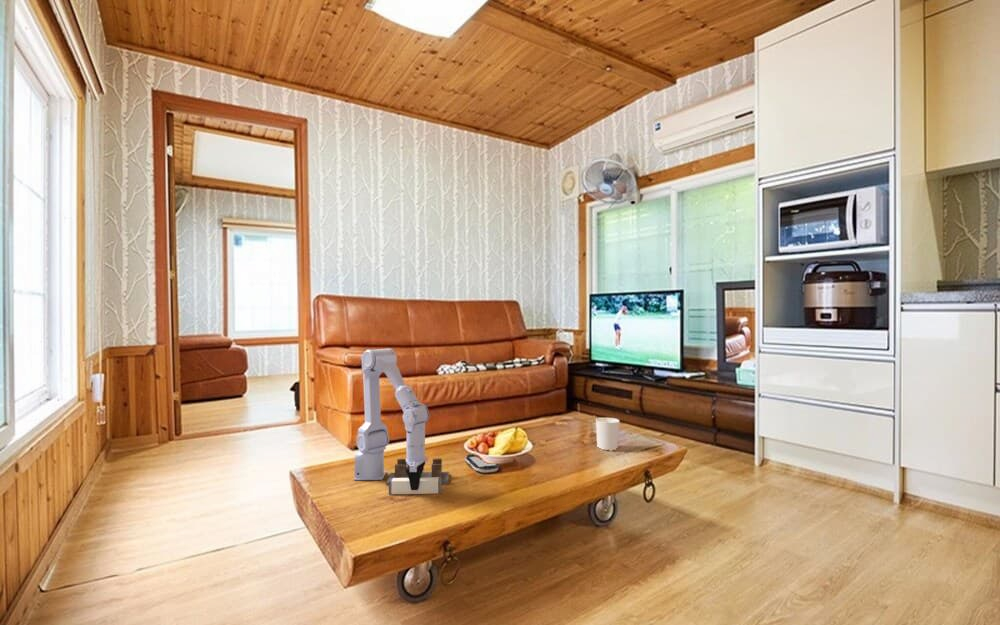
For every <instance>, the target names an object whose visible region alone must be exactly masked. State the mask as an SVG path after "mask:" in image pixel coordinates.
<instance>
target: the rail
mask: <svg viewBox="0 0 1000 625" xmlns="http://www.w3.org/2000/svg"><path fill="white" fill-rule="evenodd" d="M441 493H442V484H441V477H424V478H420V483H419V488H418V490H411V487H410V482H409V478H390V480H389V485H388V495H417V494H418V495H422V494H424V495H425V494H428V495H429V494H441Z"/></svg>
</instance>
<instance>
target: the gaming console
mask: <svg viewBox="0 0 1000 625" xmlns="http://www.w3.org/2000/svg"><path fill="white" fill-rule="evenodd" d="M471 454H472V453H471ZM471 454H467V455H465V457H464V458H465V459H464V460H465V462H466V463H467V464H468V465H469V466H470V467H471V468H472V469H473V470H474V471H475V472H476V473H479V474H482V475H489V474H494V473H498V472H499V471H500V467H499V464H498V463H497V464H487V463H484V462H483V461H482V460H480V459H479V458H477V457H475V456H474V455H471Z"/></svg>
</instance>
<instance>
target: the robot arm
mask: <svg viewBox="0 0 1000 625" xmlns="http://www.w3.org/2000/svg"><path fill="white" fill-rule="evenodd" d="M397 361H398V357H397V355H396V352H395V350H394V349H392V348H390V347H388V348H379V349H366V350H365V351H364V352H363V353H362V355H361V372H362V374H363V375H362V378H363V402H364V405H363V407H364V423H363V424H362V425H361V426H360V427H358V429H357V436H356V446H357V448H358V450H356V452H355V456H354V478H353V481H378V480H379V481H381V480H384V478H385V475H386V474H387V470H385V466H384V465H385V464H384V462H385V458H384V457H385V450H387V449H386V448H387V446H389V445H388V444H389V442H390V434H389V432H388V426H387V425H386V424H385V423H384V422H382V414H381V412H382V410H381V392H380V391H381V390H380V389H381V386H380V385H381V384H380V376H381V375H382V373H384V374H385V377H386V378H387V379H388V380H389V382H390V383H391V385H392V387H393V388H394V389H395V392H394V397H395V399H396V401H397V402H398V404H399V406H400V408H401V410H402V412H403V414H402V422H403V423H404V429H405V431H406V444H405V445H406V446H405V447H406V454H405V455H406V456H405V457H406V458H405V459H406V462H407V467H406V468H405V471H406V473H407V475H408V478H409V482H410V487H411V490H418V488H419V483H420V478H421V474H422V472H424V470H425V465H426V462H428V461H429V457H428V456H427V457H426V452H425V451H426V450H425V449H426V423H427V422H428V421H429V418H430V412H429V411H430V410H429V409H428V407H427V405H425V404H423V403H422V402H420V401H419V399H418V397H417V395H416V394H415V392H414V390H413V388H412V387H411V386H410V385H406V382H405V379H403V378H404V377H403V376H402V374H401V371H400V369H399V368H398V365H397Z"/></svg>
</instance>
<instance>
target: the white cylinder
mask: <svg viewBox="0 0 1000 625" xmlns="http://www.w3.org/2000/svg"><path fill="white" fill-rule="evenodd" d="M620 423H621V422H620V419H618V418H616V417H598V418H597V417H596V418H595V430H596V434H595V435H596V447H599V448H601V449H607V450H608V449H609V450H610V449H616V448H618V449H619V437H620V435H619V433H620V432H619V431H620Z"/></svg>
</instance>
